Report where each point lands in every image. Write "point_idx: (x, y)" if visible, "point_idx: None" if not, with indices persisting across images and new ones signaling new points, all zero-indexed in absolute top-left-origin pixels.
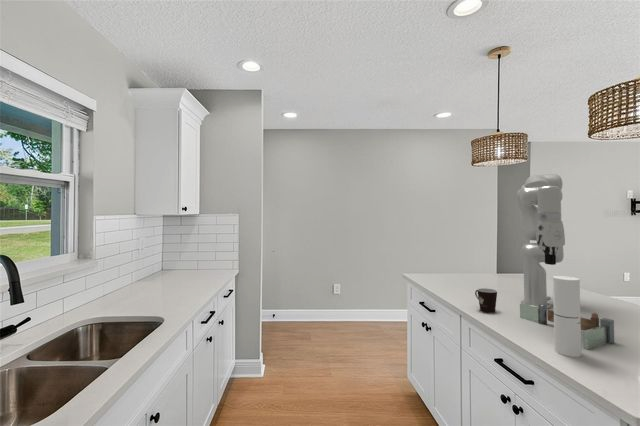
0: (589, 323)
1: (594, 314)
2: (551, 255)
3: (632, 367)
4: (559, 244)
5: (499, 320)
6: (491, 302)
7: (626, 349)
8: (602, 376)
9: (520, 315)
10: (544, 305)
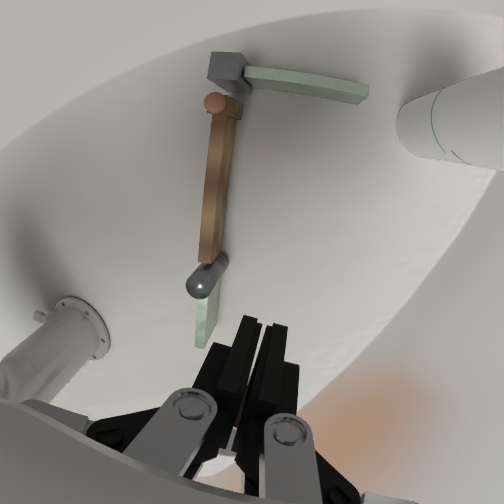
0: (229, 120)
1: (222, 99)
2: (274, 407)
3: (391, 10)
4: (134, 494)
5: (296, 349)
6: (241, 405)
7: (265, 37)
8: (488, 55)
9: (214, 327)
10: (203, 279)
